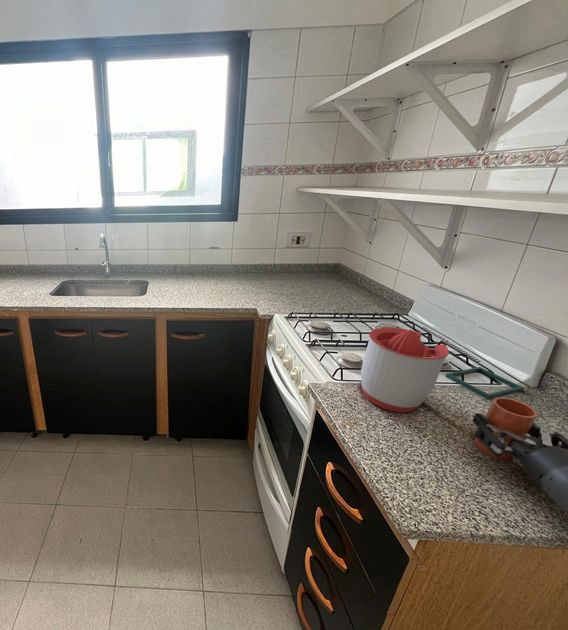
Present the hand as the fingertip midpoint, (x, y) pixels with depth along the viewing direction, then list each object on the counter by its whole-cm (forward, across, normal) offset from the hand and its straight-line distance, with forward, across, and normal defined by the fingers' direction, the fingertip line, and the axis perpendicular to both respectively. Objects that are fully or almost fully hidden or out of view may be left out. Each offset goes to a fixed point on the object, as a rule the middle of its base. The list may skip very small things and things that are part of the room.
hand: (498, 418), depth 73 cm
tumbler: (-2, 0, +6) cm, 7 cm away
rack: (+22, -12, +6) cm, 26 cm away
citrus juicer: (+13, +14, +7) cm, 20 cm away
